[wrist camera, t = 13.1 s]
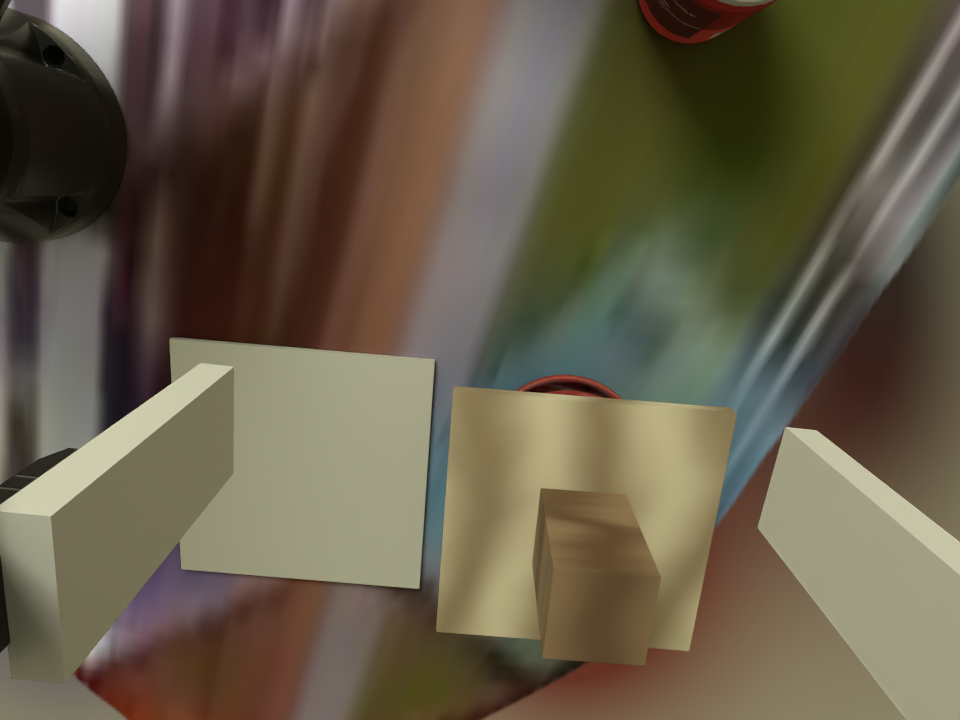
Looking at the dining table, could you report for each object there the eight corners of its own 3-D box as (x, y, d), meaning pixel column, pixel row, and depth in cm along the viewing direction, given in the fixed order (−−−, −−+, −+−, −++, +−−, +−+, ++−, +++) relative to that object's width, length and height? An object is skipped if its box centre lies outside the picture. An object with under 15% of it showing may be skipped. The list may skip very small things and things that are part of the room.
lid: (437, 621, 41) (423, 739, 32) (454, 386, 37) (443, 450, 28) (684, 639, 41) (735, 762, 33) (730, 408, 37) (804, 479, 28)
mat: (183, 565, 54) (181, 569, 54) (172, 337, 48) (169, 338, 48) (419, 585, 54) (419, 588, 54) (435, 359, 49) (434, 361, 48)
